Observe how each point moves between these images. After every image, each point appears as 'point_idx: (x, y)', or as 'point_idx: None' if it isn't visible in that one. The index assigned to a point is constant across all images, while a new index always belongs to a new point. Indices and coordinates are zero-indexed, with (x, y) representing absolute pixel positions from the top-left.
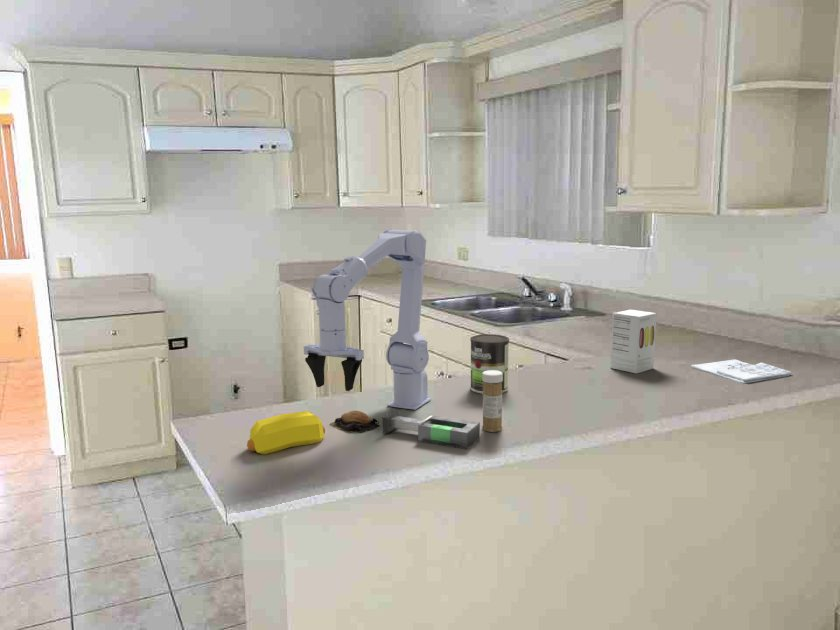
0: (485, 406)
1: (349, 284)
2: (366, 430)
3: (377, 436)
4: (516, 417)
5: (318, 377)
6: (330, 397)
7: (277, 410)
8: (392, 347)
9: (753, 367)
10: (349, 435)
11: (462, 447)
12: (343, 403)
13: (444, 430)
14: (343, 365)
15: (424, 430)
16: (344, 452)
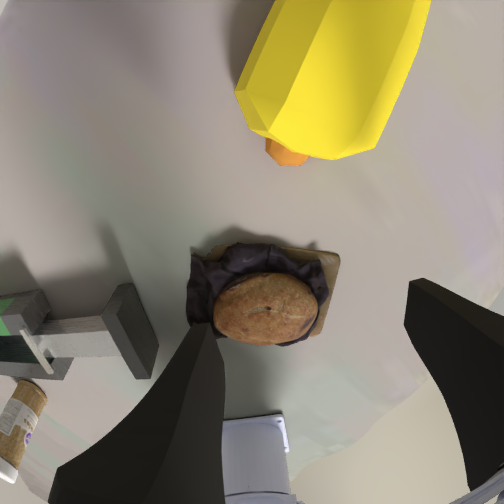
0: (10, 415)
1: None
2: (193, 278)
3: (131, 260)
4: (63, 433)
5: (443, 320)
6: (429, 377)
7: (500, 257)
8: None
9: None
10: (208, 216)
11: None
12: (388, 375)
13: None
14: (133, 481)
15: (14, 308)
16: (110, 93)
